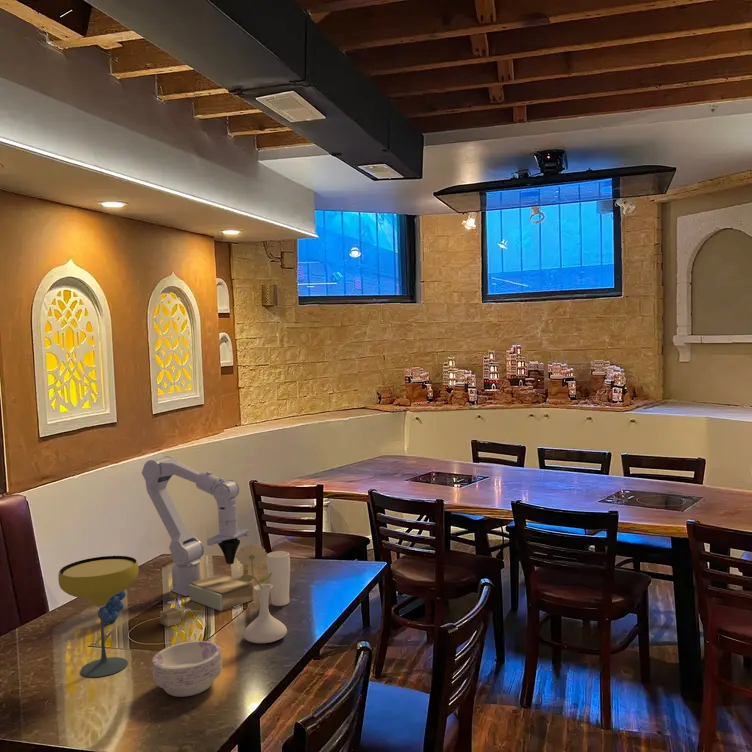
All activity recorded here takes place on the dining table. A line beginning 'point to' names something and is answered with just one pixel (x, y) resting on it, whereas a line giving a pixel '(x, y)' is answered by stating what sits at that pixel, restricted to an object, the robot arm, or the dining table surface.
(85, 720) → the dining table surface
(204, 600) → the pull-out drawer
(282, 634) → the flower in vase
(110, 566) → the cocktail glass
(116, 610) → the grapes
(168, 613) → the block
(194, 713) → the dining table surface
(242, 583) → the housing
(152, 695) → the dining table surface
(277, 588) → the white cylinder
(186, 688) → the paper bowls
